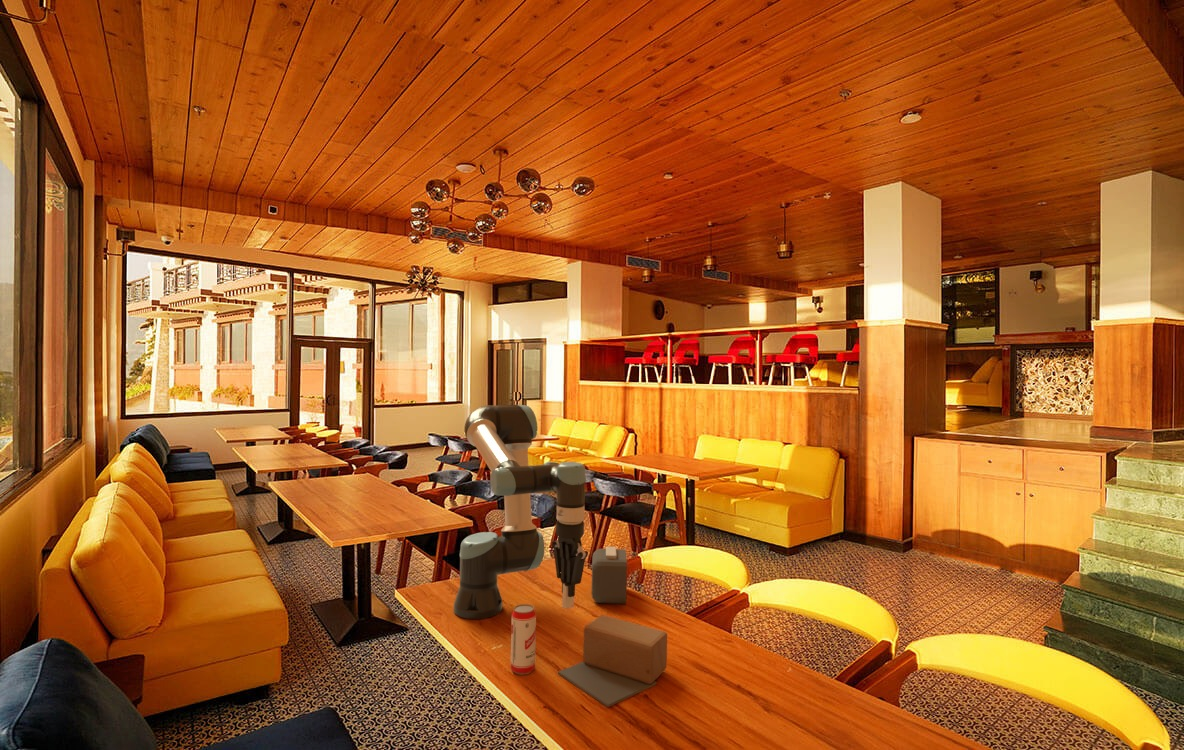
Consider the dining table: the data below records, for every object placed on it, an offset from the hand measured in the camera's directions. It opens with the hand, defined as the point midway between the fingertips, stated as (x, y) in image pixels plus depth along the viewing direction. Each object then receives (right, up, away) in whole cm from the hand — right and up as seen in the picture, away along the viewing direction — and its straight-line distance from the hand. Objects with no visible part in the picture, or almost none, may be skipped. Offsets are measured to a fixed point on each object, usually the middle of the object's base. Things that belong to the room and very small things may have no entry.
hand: (567, 607), depth 166 cm
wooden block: (+6, -8, -2) cm, 10 cm away
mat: (+10, -14, -12) cm, 21 cm away
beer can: (-11, -13, -8) cm, 19 cm away
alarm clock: (+12, -12, +41) cm, 45 cm away
